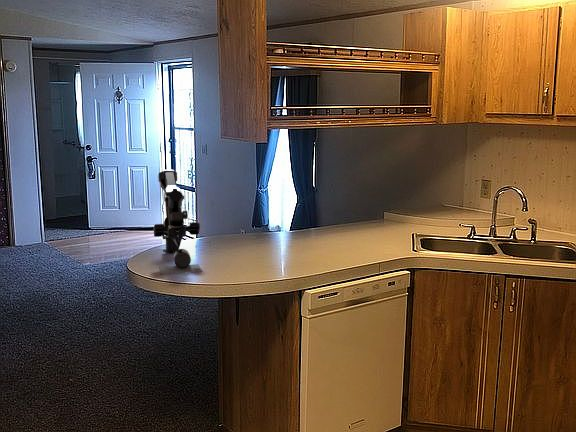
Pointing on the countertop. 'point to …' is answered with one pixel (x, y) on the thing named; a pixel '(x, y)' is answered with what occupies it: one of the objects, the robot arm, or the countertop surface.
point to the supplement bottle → (182, 258)
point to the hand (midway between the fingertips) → (178, 246)
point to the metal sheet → (180, 269)
